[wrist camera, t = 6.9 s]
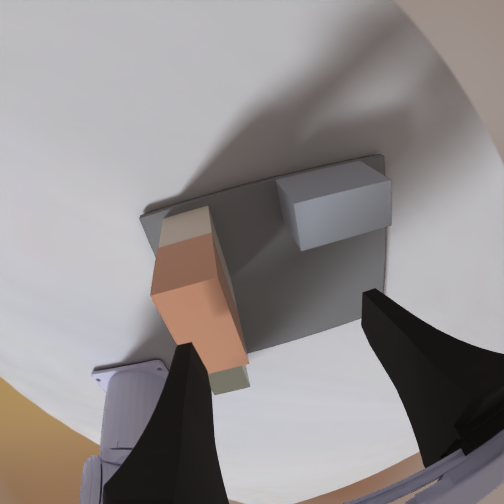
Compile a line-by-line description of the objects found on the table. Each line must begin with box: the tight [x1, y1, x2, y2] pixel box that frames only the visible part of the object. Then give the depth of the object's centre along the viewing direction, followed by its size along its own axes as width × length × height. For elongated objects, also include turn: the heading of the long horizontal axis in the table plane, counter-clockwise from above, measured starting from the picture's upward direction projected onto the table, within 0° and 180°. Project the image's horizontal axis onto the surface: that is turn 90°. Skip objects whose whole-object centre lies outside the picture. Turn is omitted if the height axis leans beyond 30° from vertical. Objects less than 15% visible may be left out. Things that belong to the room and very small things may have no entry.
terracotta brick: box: [150, 232, 249, 374], centre depth 16 cm, size 6×3×4 cm, turn 12°
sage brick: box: [208, 365, 250, 395], centre depth 24 cm, size 6×3×4 cm, turn 12°
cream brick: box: [158, 206, 237, 309], centre depth 20 cm, size 6×3×4 cm, turn 12°
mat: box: [139, 154, 386, 353], centre depth 24 cm, size 15×17×1 cm
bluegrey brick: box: [276, 161, 392, 251], centre depth 19 cm, size 6×3×4 cm, turn 102°
